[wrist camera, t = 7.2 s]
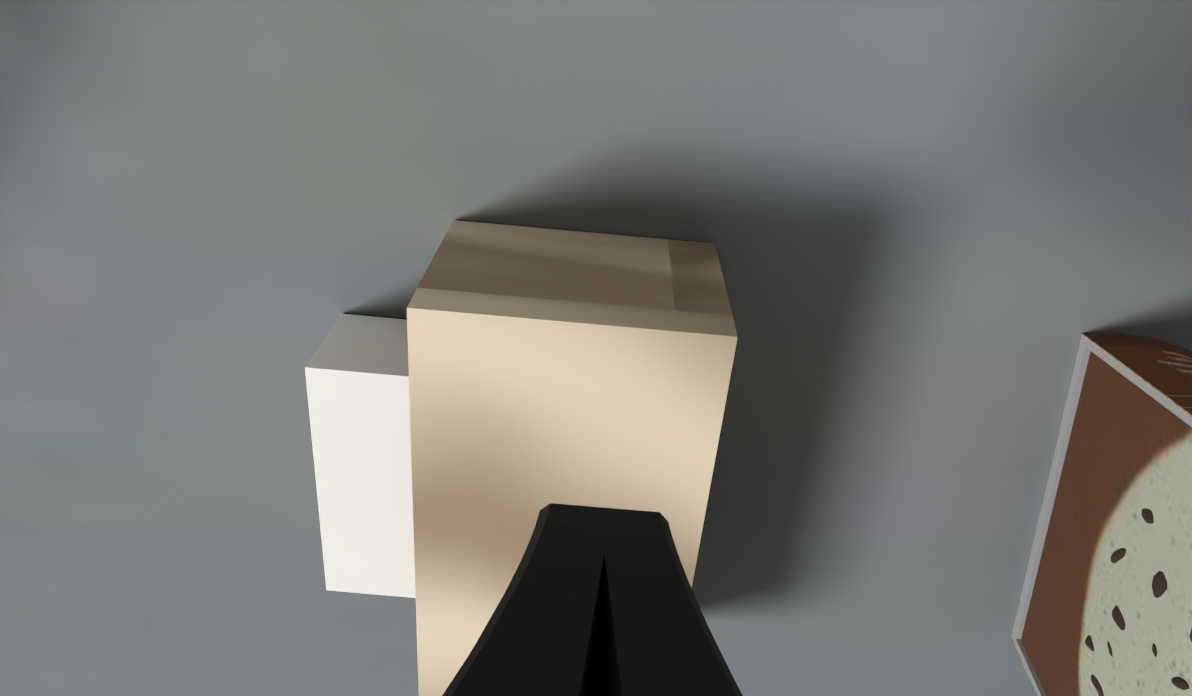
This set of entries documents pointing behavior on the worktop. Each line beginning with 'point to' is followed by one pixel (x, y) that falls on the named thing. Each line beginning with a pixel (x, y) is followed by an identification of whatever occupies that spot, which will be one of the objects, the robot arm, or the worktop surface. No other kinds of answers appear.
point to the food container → (1115, 530)
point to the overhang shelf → (553, 404)
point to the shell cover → (363, 455)
